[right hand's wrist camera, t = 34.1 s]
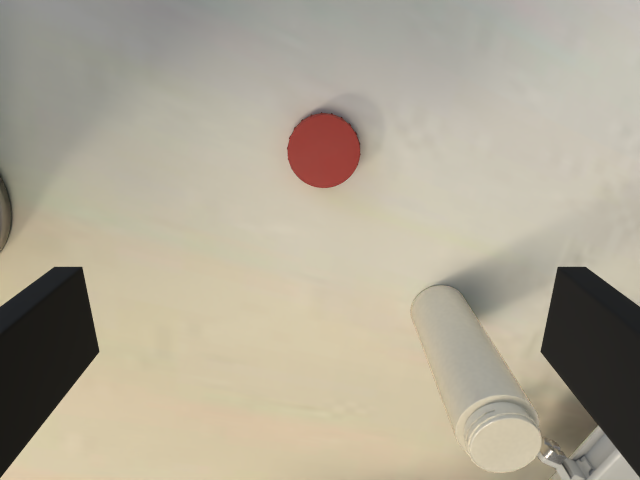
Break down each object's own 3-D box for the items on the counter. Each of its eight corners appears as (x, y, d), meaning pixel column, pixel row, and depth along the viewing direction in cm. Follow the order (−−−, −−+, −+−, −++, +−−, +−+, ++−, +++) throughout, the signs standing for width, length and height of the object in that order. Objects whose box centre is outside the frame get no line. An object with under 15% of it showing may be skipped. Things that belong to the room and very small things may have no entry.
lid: (291, 186, 40) (290, 191, 39) (285, 114, 38) (283, 116, 36) (360, 181, 40) (361, 186, 38) (357, 110, 38) (359, 111, 36)
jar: (423, 278, 43) (484, 402, 27) (475, 293, 44) (566, 424, 28) (402, 325, 45) (448, 468, 29) (452, 340, 46) (525, 487, 30)
